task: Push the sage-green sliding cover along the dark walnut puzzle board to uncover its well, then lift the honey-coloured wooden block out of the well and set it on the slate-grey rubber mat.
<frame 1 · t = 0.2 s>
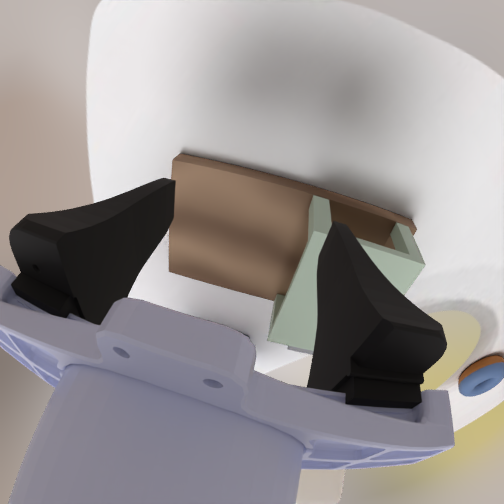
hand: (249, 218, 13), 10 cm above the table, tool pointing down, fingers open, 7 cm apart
milk: (321, 435, 59), on the table
doughnut: (480, 366, 34), on the table
board: (282, 242, 25), on the table
cover: (343, 289, 22), point 4 cm above the table, slide at 0.0 cm
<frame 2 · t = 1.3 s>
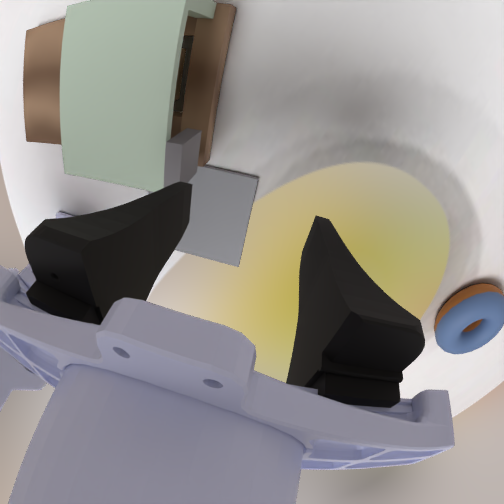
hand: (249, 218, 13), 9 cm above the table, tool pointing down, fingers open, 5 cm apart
doughnut: (466, 307, 26), on the table
board: (105, 77, 17), on the table
cover: (135, 85, 14), point 4 cm above the table, slide at 0.0 cm
mat: (197, 212, 24), on the table
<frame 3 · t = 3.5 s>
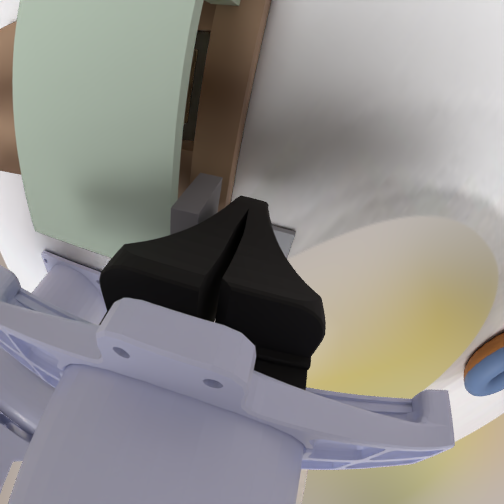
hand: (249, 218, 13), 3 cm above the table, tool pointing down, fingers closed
doughnut: (496, 348, 21), on the table
board: (86, 89, 13), on the table
cover: (120, 106, 10), point 4 cm above the table, slide at 0.1 cm, touching gripper
mat: (212, 267, 19), on the table
block: (157, 82, 12), resting in board
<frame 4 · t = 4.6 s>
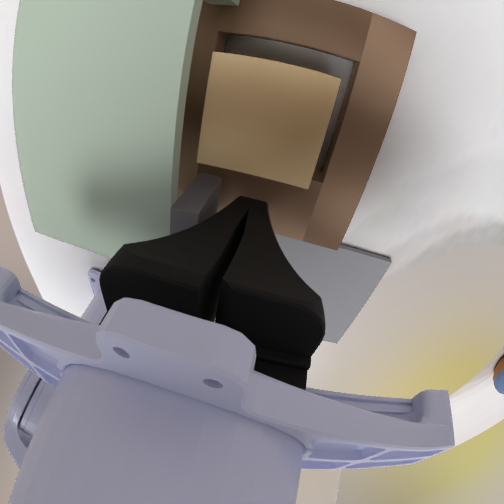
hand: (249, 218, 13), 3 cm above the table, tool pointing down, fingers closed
milk: (309, 446, 46), on the table
board: (178, 93, 13), on the table
cover: (120, 106, 10), point 4 cm above the table, slide at 6.5 cm, touching gripper
mat: (302, 290, 19), on the table
block: (277, 100, 12), resting in board
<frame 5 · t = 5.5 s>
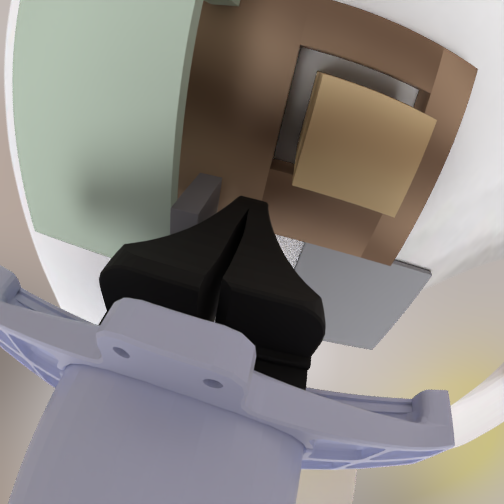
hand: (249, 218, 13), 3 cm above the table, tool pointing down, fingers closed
milk: (324, 448, 46), on the table
board: (243, 103, 13), on the table
cover: (120, 106, 10), point 4 cm above the table, slide at 9.9 cm, touching gripper
mat: (347, 302, 19), on the table
block: (346, 120, 12), resting in board
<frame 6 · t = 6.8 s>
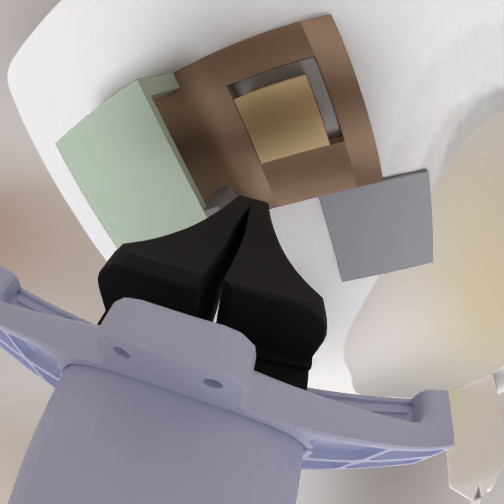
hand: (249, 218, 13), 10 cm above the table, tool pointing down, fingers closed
milk: (465, 393, 38), on the table
board: (225, 136, 20), on the table
cover: (153, 176, 18), point 4 cm above the table, slide at 10.0 cm
mat: (382, 229, 22), on the table
block: (288, 107, 18), resting in board
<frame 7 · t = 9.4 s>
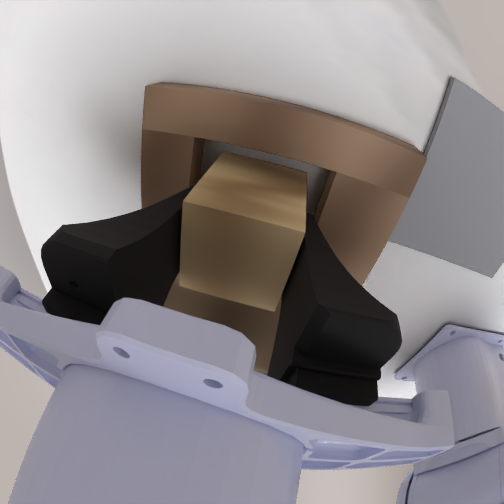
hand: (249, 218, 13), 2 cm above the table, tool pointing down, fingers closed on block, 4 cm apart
board: (247, 272, 17), on the table
cover: (223, 364, 17), point 4 cm above the table, slide at 10.0 cm
mat: (483, 193, 11), on the table
block: (256, 198, 14), resting in board, touching gripper
when the fingers open (4 cm above the table, at t = 12.7 s): block drops 1 cm, resting on mat.
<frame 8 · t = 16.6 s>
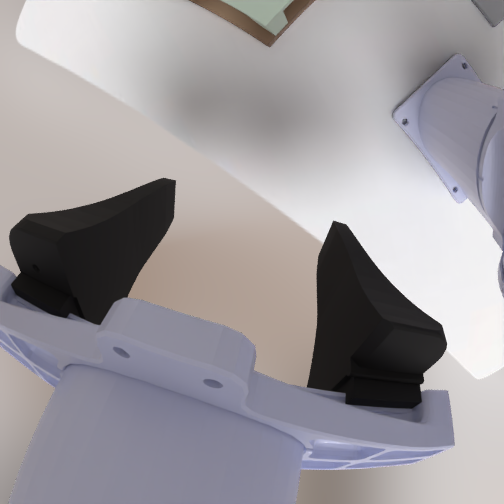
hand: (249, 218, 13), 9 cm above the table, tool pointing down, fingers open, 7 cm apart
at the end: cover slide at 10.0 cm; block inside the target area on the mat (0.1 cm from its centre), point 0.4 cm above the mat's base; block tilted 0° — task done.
